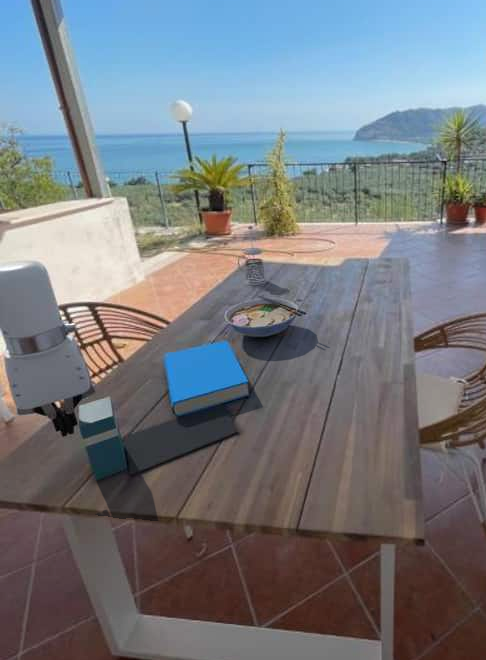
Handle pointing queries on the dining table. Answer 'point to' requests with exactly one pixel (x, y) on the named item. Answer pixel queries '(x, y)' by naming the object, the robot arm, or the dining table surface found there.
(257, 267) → the french press
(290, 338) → the dining table surface
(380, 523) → the dining table surface
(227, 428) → the mat
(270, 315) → the ramen bowl
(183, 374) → the book
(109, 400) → the carton
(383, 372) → the dining table surface
